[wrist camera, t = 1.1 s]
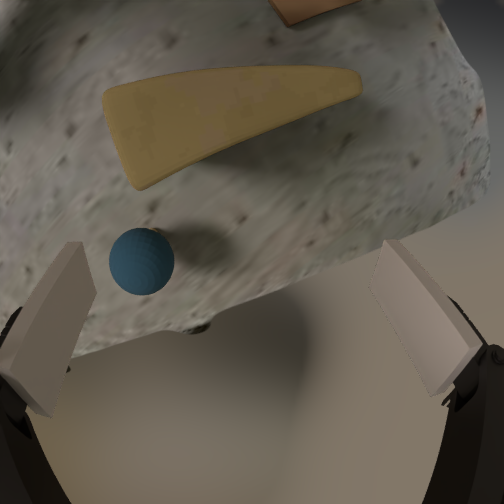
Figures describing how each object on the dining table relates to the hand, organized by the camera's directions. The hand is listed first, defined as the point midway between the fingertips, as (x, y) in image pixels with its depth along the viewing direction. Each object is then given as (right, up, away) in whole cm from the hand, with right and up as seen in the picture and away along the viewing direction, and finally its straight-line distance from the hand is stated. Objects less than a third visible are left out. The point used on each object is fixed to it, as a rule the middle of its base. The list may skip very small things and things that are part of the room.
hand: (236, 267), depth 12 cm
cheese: (-2, +20, +21) cm, 29 cm away
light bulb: (-14, +4, +29) cm, 32 cm away
